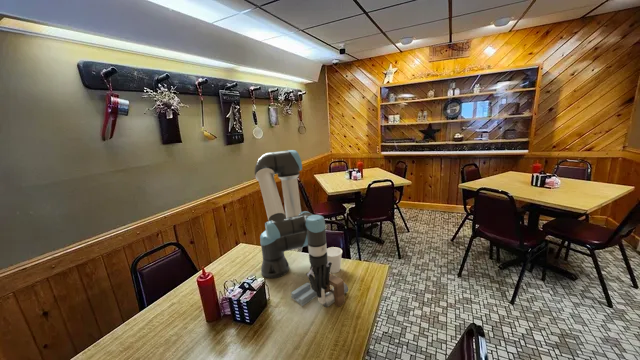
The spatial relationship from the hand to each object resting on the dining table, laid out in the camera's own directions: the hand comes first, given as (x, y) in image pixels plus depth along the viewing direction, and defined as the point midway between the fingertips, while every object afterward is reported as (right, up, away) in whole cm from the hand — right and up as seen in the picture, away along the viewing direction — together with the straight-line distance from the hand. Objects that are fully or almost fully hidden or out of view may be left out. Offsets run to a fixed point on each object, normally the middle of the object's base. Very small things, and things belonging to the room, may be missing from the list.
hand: (322, 302), depth 109 cm
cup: (+7, +4, +27) cm, 28 cm away
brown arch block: (+5, -1, +5) cm, 7 cm away
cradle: (-8, -1, +8) cm, 11 cm away
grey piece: (+6, +2, +4) cm, 7 cm away
